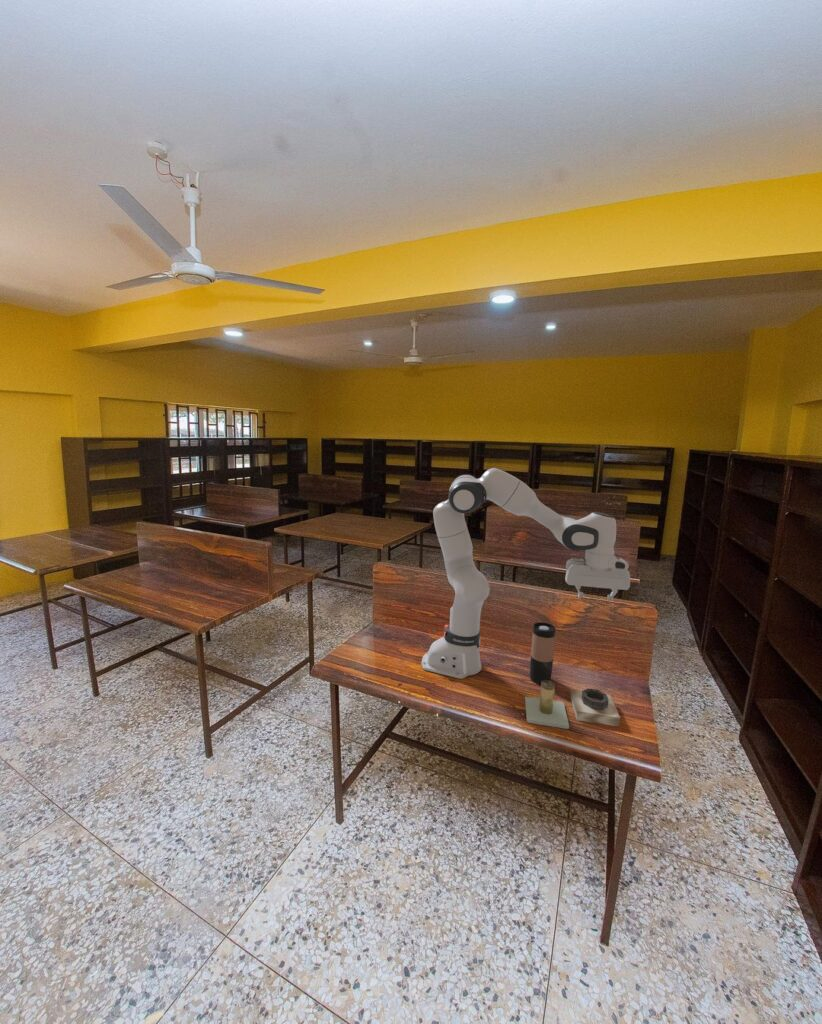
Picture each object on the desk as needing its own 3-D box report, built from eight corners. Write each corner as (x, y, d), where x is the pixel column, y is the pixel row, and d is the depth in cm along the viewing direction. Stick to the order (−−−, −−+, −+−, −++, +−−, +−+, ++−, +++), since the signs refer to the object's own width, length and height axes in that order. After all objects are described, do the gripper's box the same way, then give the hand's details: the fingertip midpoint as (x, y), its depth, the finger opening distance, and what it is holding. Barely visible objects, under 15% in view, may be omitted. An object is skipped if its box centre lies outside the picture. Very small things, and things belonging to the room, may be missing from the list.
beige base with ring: (576, 720, 127) (578, 703, 127) (570, 697, 139) (572, 682, 138) (619, 726, 125) (621, 709, 124) (609, 703, 137) (610, 687, 136)
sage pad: (526, 722, 126) (527, 719, 126) (524, 699, 137) (525, 696, 137) (568, 729, 123) (569, 726, 123) (563, 705, 135) (563, 702, 135)
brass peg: (539, 713, 129) (541, 686, 127) (538, 705, 133) (540, 679, 131) (553, 715, 128) (555, 688, 126) (552, 707, 132) (554, 681, 130)
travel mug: (550, 675, 152) (554, 623, 149) (552, 686, 145) (557, 632, 142) (528, 672, 154) (532, 621, 151) (529, 683, 147) (533, 629, 144)
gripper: (568, 559, 140) (564, 599, 142) (634, 565, 136) (629, 605, 138) (565, 555, 146) (562, 593, 149) (628, 560, 142) (624, 598, 144)
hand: (595, 599), depth 143 cm, fingers open, 8 cm apart
